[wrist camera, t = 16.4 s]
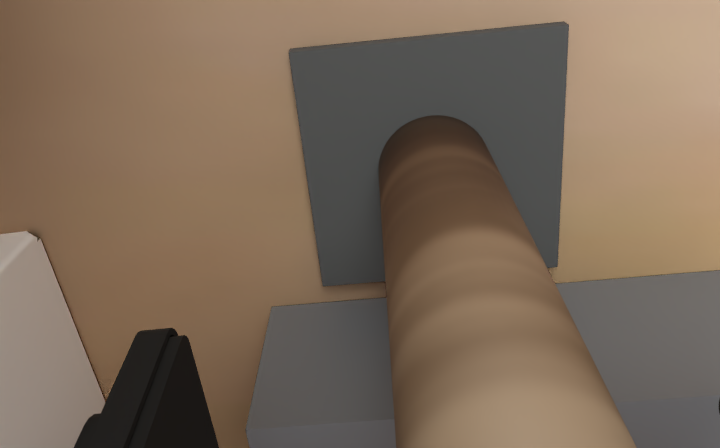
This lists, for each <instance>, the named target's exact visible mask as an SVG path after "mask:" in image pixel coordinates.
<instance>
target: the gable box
mask: <svg viewBox="0 0 720 448" xmlns="http://www.w3.org/2000/svg"><path fill="white" fill-rule="evenodd" d="M105 403H106V402H105V400H104V397H103V395H102V392H101V390H100V387H99V385H98V382H97V380H96V377H95V375H94V372H93V370H92V367H91V365H90V362H89V360H88V357H87V355H86V352H85V350H84V347H83V344H82V342H81V339H80V337H79V334H78V332H77V329H76V327H75V324H74V322H73V319H72V317H71V314H70V312H69V309H68V307H67V304H66V302H65V299H64V297H63V294H62V292H61V289H60V287H59V284H58V282H57V279H56V277H55V274H54V271H53V269H52V266H51V264H50V261H49V259H48V256H47V254H46V251H45V249H44V246H43V244H42V241H41V239H40V238H39V237H35V236H33V235H32V234H31V233H30V232H28V231H23V232H14V233H5V234H0V448H74V446H75V444H76V441H77V439H78V437H79V435H80V433H81V431H82V429H83V426H84V425H85V423H86V422H87V420H88V418H89V417H91V416H92V415H93V414H99V413H101V412H102V409H103V407H104V405H105Z"/></svg>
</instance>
